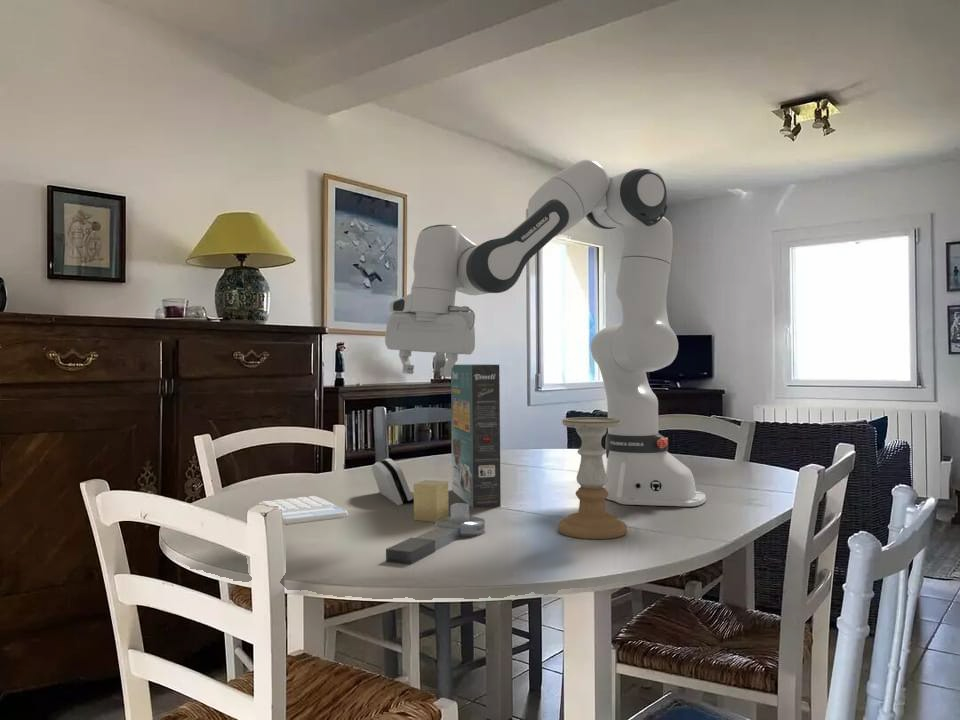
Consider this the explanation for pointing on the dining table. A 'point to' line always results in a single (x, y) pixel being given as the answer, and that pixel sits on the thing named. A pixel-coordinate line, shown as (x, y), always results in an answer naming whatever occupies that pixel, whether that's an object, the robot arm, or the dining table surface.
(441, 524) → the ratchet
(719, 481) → the dining table surface
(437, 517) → the tan rectangular block
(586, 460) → the candle holder
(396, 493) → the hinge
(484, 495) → the cake mix box
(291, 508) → the calculator
